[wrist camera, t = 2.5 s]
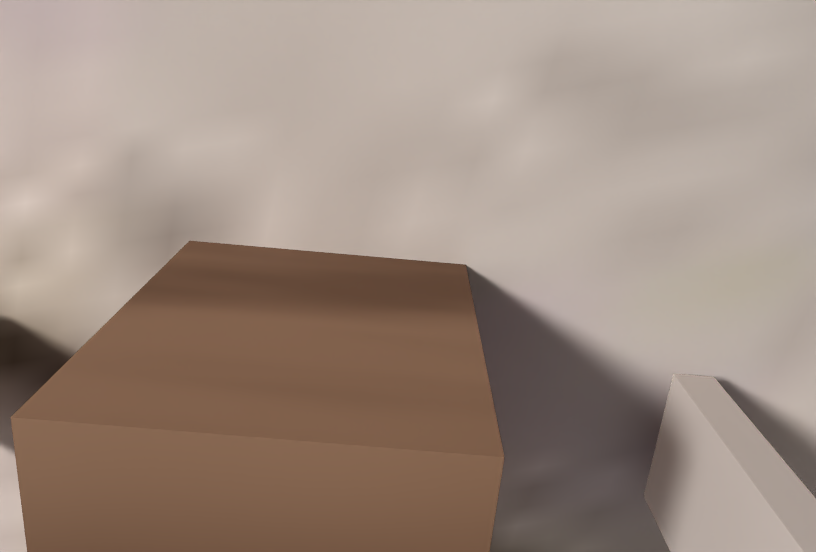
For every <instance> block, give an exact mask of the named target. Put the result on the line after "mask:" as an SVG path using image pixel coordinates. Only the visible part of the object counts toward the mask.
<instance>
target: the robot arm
mask: <svg viewBox="0 0 816 552" xmlns="http://www.w3.org/2000/svg"><path fill="white" fill-rule="evenodd" d="M644 498H645V500H646V502H647V504H648V506H649V508H650V510H651V512H652V515H653V517H654V519H655V521H656V523H657V525H658V527H659V529H660V531H661V533H662V535H663V537H664V540H665V542H666V544H667V546H668V548H669V550H670V552H816V498H815V497H814V496H813V495H812V493H811V492H810V491H809V490H808V489H807V487H806V486H805V485H804V484H803V483H802V481H801V480H800V479H799V478H798V477H797V475H796V474H795V473H794V472H793V471H792V470H791V468H790V467H789V466H788V465H787V464H786V462H785V461H784V460H783V459H782V458H781V456H780V455H779V454H778V453H777V452H776V450H775V449H774V448H773V447H772V446H771V444H770V443H769V442H768V441H767V440H766V439H765V437H764V436H763V435H762V434H761V433H760V431H759V430H758V429H757V428H756V427H755V425H754V424H753V423H752V422H751V421H750V419H749V418H748V417H747V416H746V415H745V414H744V412H743V411H742V410H741V409H740V408H739V406H738V405H737V404H736V403H735V402H734V400H733V399H732V398H731V397H730V396H729V394H728V393H727V392H726V391H725V390H724V388H723V387H722V386H721V385H720V384H719V383H718V381H717V380H716V379H715V378H714V377H708V376H696V375H685V374H673V377H672V381H671V385H670V389H669V394H668V398H667V402H666V406H665V410H664V414H663V418H662V422H661V427H660V431H659V435H658V439H657V443H656V447H655V451H654V455H653V460H652V464H651V468H650V472H649V476H648V480H647V484H646V488H645V493H644Z"/></svg>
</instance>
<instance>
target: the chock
mask: <svg viewBox="0 0 816 552" xmlns="http://www.w3.org/2000/svg"><path fill="white" fill-rule="evenodd" d="M11 425H12V433H13V441H14V449H15V457H16V465H17V473H18V481H19V489H20V497H21V505H22V513H23V521H24V529H25V537H26V545H27V552H489V551H490V545H491V539H492V532H493V526H494V520H495V514H496V507H497V501H498V495H499V489H500V482H501V476H502V470H503V463H504V453H503V448H502V443H501V438H500V433H499V428H498V423H497V418H496V413H495V408H494V403H493V398H492V393H491V388H490V383H489V378H488V373H487V368H486V363H485V358H484V353H483V348H482V343H481V338H480V333H479V328H478V323H477V318H476V313H475V308H474V303H473V298H472V293H471V288H470V283H469V278H468V273H467V268H466V265H462V264H451V263H439V262H428V261H416V260H404V259H393V258H381V257H370V256H358V255H347V254H335V253H324V252H312V251H301V250H289V249H278V248H266V247H255V246H243V245H231V244H220V243H208V242H197V241H189V242H188V243H187V244H186V245H185V246H184V247H183V248H182V249H181V250H180V251H179V252H178V253H177V254H176V255H175V256H174V257H173V258H172V259H171V260H170V261H169V262H168V263H167V264H166V265H165V266H164V267H163V268H162V269H161V270H160V271H159V272H158V273H157V274H156V275H155V276H154V277H152V278H151V279H150V280H149V281H148V282H147V283H146V284H145V285H144V286H143V287H142V288H141V289H140V290H139V291H138V292H137V293H136V294H135V295H134V296H133V297H132V298H131V299H130V300H129V301H128V302H127V303H126V304H125V305H124V306H123V307H122V308H121V309H120V310H119V311H118V312H117V313H116V314H115V315H114V316H113V317H112V318H111V319H110V320H109V321H108V322H107V323H106V324H105V325H104V326H103V327H102V328H101V329H100V330H99V331H98V332H97V333H96V334H95V335H94V336H93V337H92V338H91V339H90V340H89V341H88V342H86V343H85V344H84V345H83V346H82V347H81V348H80V349H79V350H78V351H77V352H76V353H75V354H74V355H73V356H72V357H71V358H70V359H69V360H68V361H67V362H66V363H65V364H64V365H63V366H62V367H61V368H60V369H59V370H58V371H57V372H56V373H55V374H54V375H53V376H52V377H51V378H50V379H49V380H48V381H47V382H46V383H45V384H44V385H43V386H42V387H41V388H40V389H39V390H38V391H37V392H36V393H35V394H34V395H33V396H32V397H31V398H30V399H29V400H28V401H27V402H26V403H25V404H24V405H23V406H22V407H21V408H19V409H18V410H17V411H16V412H15V413H14V414H13V415H12V416H11Z"/></svg>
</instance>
